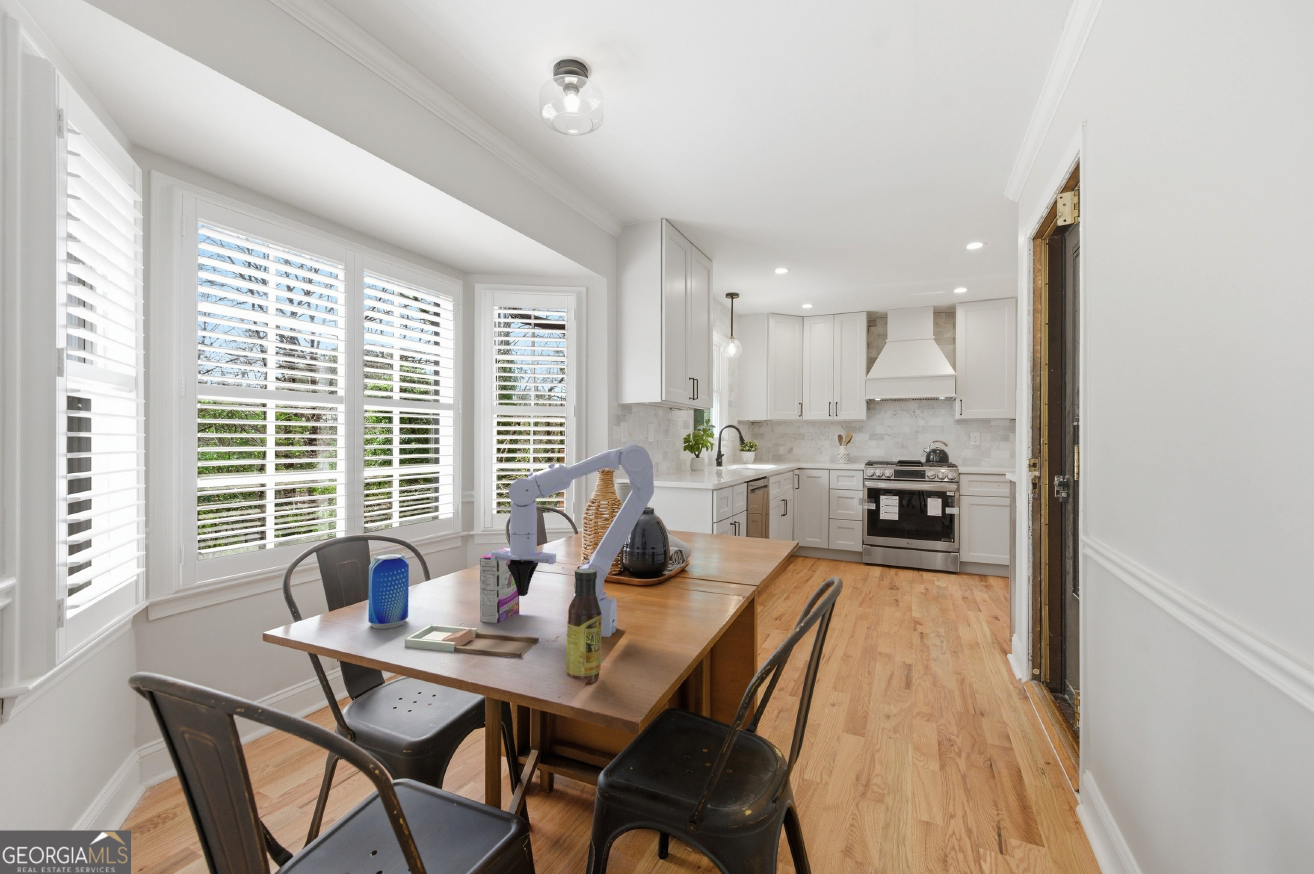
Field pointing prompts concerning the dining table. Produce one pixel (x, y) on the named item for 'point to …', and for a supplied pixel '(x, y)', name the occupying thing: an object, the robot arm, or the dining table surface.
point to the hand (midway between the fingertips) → (522, 594)
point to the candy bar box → (497, 590)
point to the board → (498, 645)
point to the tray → (417, 642)
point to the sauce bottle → (584, 629)
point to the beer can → (388, 590)
